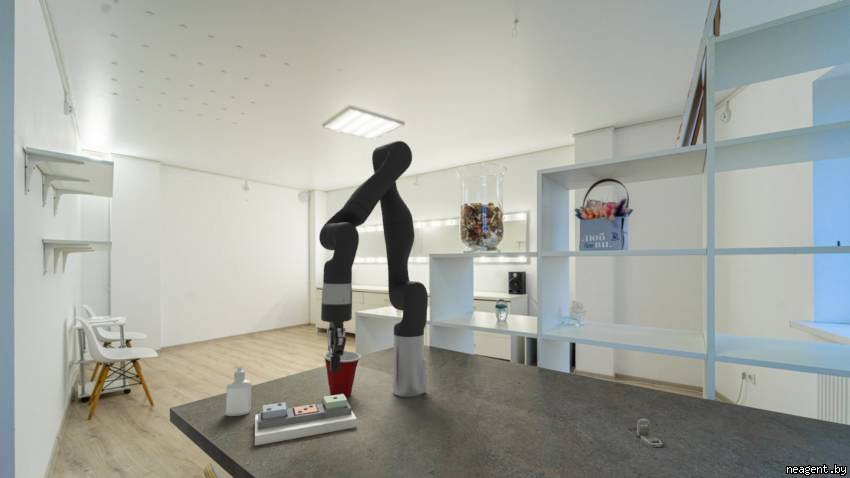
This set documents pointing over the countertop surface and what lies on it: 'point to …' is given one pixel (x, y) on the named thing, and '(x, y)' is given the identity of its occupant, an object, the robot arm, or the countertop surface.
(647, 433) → the strap clip
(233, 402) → the eye dropper bottle
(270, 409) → the key two
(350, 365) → the plastic cup
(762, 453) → the countertop surface
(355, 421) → the keypad
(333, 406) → the key one
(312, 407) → the key three
